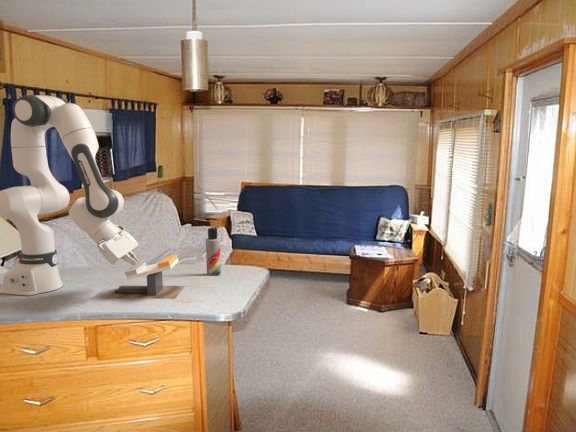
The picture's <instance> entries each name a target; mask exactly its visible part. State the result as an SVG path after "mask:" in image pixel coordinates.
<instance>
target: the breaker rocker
mask: <svg viewBox="0 0 576 432" xmlns="http://www.w3.org/2000/svg"><path fill="white" fill-rule="evenodd" d="M177 263H179V258H178V255H177V253H175V254H172V255H167V256H165V257H164V258H162V259H161V260H160V261H159V262H158V263H153V264H149V265H147V263H146V261H144V262H138V263H137V264H136V265H134V266H131V267H129V268H128V270H126V271H125V272H124V274H125V276H126V279H127V281H129V280H132V279H136V278H140V277H144V276H147V275H149V274H153V273H157V272H161V271H162V272H163V271H164V272H165V271H169V270H171V269H173V267H175V266H176V265H177Z"/></svg>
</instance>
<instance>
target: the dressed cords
mask: <svg viewBox="0 0 576 432" xmlns="http://www.w3.org/2000/svg"><path fill="white" fill-rule="evenodd" d="M118 288H119V289H118ZM118 288H117V289H114V291H115V293H121V294H148V291H147V285H126V286H122V285H119V286H118Z"/></svg>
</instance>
